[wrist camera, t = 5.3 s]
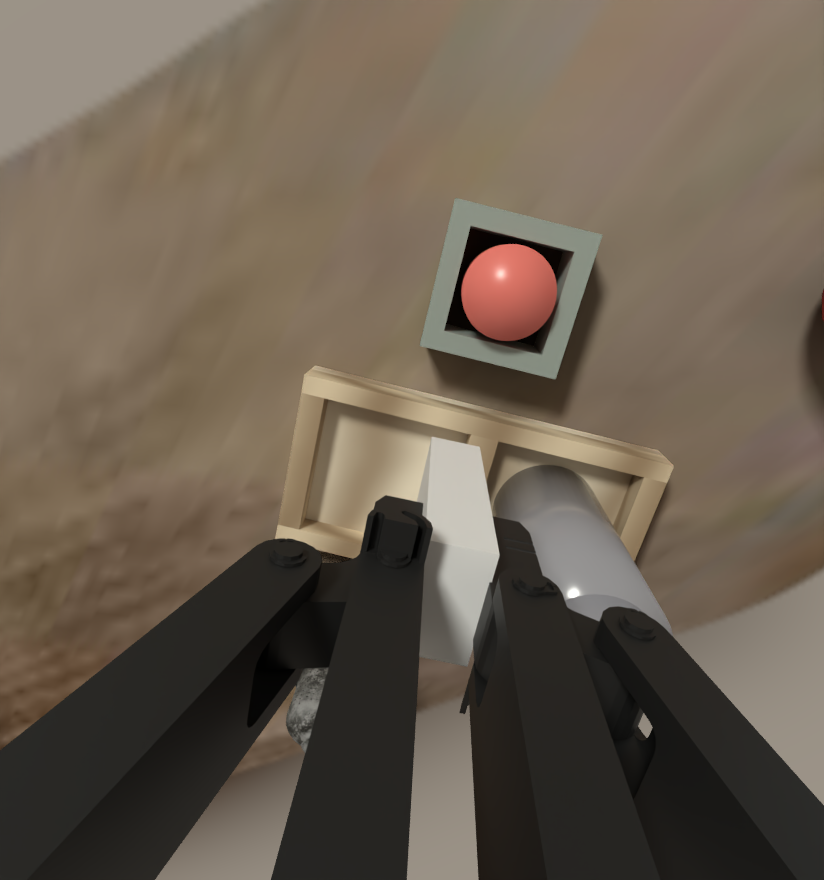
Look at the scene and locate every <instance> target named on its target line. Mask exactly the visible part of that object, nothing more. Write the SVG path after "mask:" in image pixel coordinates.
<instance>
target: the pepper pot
mask: <svg viewBox="0 0 824 880" xmlns="http://www.w3.org/2000/svg"><path fill="white" fill-rule="evenodd" d="M492 516H494V517H499V518H503V519H508V520H513V521H517V522H520V523H521V524H522V525H523V526H524V527H525V528H526V529H527V530H528V531H529V533H530V535H531V538H532V542H533V546H534V548H535V551H536V553H535V554H536V555H537V558H538V561H539V565H540V568H541V571H542V574H543V576H545V577H547V578H549V579H550V580H551V581H552V582H554V583H555V584H556V585H557V586H558V587H559V589H560V590H561V592H562V594H563V597H564V600H565V602H566V605H567V607H568V608H569V609H571V610H573V611H575V612H578V613H580V614H582V615H585V616H587V617H590V618H592V619H595V620H597V621H600V618H601V616H602V613H603V611H604V610H606V609H607V608H609V607H617V606H620V607H625V608H632V609H636V610H637V611H641V612H643V613H645V614H647V615H648V616H649V617H651V618H653V619H654V620H656V621H657V622H658V623H660V624H661V625H662V626H663V627H664V628H665V629H666V630H667V631H668V632H669V633H670V634H671V635H672V636H673V634H672V630H671V627H670V624H669V622H668V620H667V618H666V616H665V614H664V613H663V611H662V609H661V607H660V606H659V604H658V602H657V601H656V599H655V597H654V595H653V594H652V592H651V590H650V588H649V587H648V585H647V583H646V582H645V580H644V578H643V576H642V575H641V573H640V571H639V570H638V568H637V566H636V564H635V563H634V561H633V559H632V557H631V556H630V554H629V552H628V551H627V549H626V547H625V545H624V544H623V542H622V540H621V539H620V537H619V535H618V533H617V532H616V530H615V528H614V526H613V525H612V523H611V521H610V520H609V518H608V516H607V514H606V513H605V511H604V509H603V508H602V506H601V504H600V502H599V501H598V499H597V497H596V495H595V494H594V492H593V490H592V489H591V487H590V486H589V484H588V483H587V482H586V481H585V480H584V479H583V478H582V477H581V476H580V475H578V474H577V473H575V472H574V471H572V470H569V469H567V468H564V467H561V466H556V465H538V466H532V467H529V468H526V469H524V470H522V471H519V472H518V473H516V474H514V475H513V476H512V477H510V478H509V479H508V480H507V481H506V482H505V483H504V484H503V485H502V487H501V488H500V489H499V491H498V493H497V495H496V497H495V500H494V503H493V508H492Z"/></svg>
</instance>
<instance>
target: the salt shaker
mask: <svg viewBox="0 0 824 880" xmlns="http://www.w3.org/2000/svg"><path fill="white" fill-rule="evenodd" d="M328 668H329V667H327V668H305V669H303V671H302V674H301V676H300V679H299V681H298V682H297V683H296V685H295V686H296V690H295V693H294V696H293V699H292V702H291V704H290V707H289V710H288V713H287V718H286V726H287V729H288V732H289V734H290V735H291V737H292V738H293V740H294V741H296V742H297V743H298V744H299V745H301V748H302V749H303V751H304V752H305V753H306V749H307V746H308V742H309V738H310V735H311V731H312V727H313V724H314V720H315V716H316V712H317V709H318V705H319V701H320V698H321V694H322V690H323V687H324V683H325V679H326V676H327V672H328Z"/></svg>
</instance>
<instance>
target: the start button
mask: <svg viewBox="0 0 824 880" xmlns="http://www.w3.org/2000/svg"><path fill="white" fill-rule="evenodd" d="M461 297H462V303H463V308H464V311H465V313H466V315H467V317H468V319H469V321H470V322H471V324H472V325H473V326H474V327H475V328H476V329H477V330H478V331H479V332H481V333H482V334H484V335H485V336H487V337H490V338H492V339H495V340H500V341H514V340H519V339H522V338H525V337H527V336H529V335H531V334H533V333H534V332H536V331H537V330H538V329H540V328H541V327H542V326H543V325H544V323H545V322H546V321H547V320H548V318H549V317H550V315H551V313H552V311H553V308H554V306H555V302H556V297H557V284H556V278H555V275H554V272H553V270H552V268H551V266H550V264H549V263H548V262H547V260H546V259H545V258H544V257H543V256H542V255H541V254H540V253H538V252H537V251H535V250H533V249H531V248H529V247H527V246H524V245H518V244H505V245H497V246H493V247H490V248H488V249H486V250H484V251H482V252H481V253H480V254H478V255H477V256H476V257H475V258H474V259H473V260H472V261H471V263H470V264H469V265H468V267H467V269H466V271H465V273H464V276H463V279H462V284H461Z"/></svg>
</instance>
